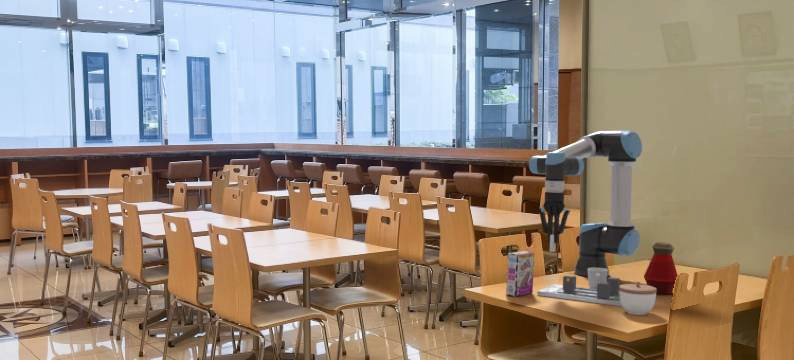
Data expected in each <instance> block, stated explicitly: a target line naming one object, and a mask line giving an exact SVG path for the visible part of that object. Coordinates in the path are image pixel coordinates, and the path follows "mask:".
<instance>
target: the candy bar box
mask: <svg viewBox="0 0 794 360" xmlns="http://www.w3.org/2000/svg"><path fill="white" fill-rule="evenodd" d="M534 267H535V252H531V251H527V250H526V251H525V250H523V251H516V252H515V251H514V252H508V253H507V268H506V269H507V270H506V271H507V272H506V289H505V290H506V291H505V292H506V294H505V295H506V296H508V297H514V298H517V297H522V296H526V295H532V294H533V289H534V269H535V268H534Z"/></svg>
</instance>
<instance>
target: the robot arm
mask: <svg viewBox="0 0 794 360" xmlns="http://www.w3.org/2000/svg"><path fill="white" fill-rule="evenodd" d="M642 151H643V143H642V140H641V137H640V135H639V134H638V133H637V132H636V131H634V130H626V129H625V130H624V129H623V130H605V129H603V130H600V131H596V132H592V133H590V134H588V135H587V134H586V135H584V136H582V137H580V138H579V139H578V140H577V141H576V142H573V143H571V144H569V145H566V146H563V147H561V148H559V149H557V150H553V151H548V152H547V153H546V154H544V155H533V156H531V158H530V159H529V162H528V165H529V171H530V172H531V173H532V174H537V175H545V178H544V190H545V192H544V203H543V204H542V206H541V207H539V208H537V212H538V214H539V216H540V218H539V219H540V222H541V226H542V232H543V233H545V234H547V243H549V252H550V253H551V252H553V253H554V252H556V247H557V246H556V245H557V244H558V243H559V235H561V234H563V233H564V231H565V227H566V224H567V221H568V217H569V215H570V213H571V210H570V209H568V208H566V205H565V192H564V191H565V177H576V176H579V175H581V174H582V173H583V172H584V170H585V163H584V161H583V160H582V159H584V158H585V159H590V158H592V157H594V158H595V157H603V158H607V162H608V164H610V165H611V175H610V176H611V178H610V186H611V187H610V220H609V221H608V222H607V223H606V222H593V223H582V224H581V225H580V227H579V234H578V235H579V240H578V242H579V243H578V251H579V252H578V257H577V260H576V263H575V266H574V268H573V269H574V270H573V271H574V272H573V273H574V274H575V275H578V276H581V277H588V268H604V269H607V270H608V273H607V277H608V276H609V275H610V269H609V266H608V262H607V259H606V257H607V256H606V255H607V254H611V255H612V254H613V255H616V256H617V255H619V256H626V257H628V256H632V255H634V254H635V253H636V251H637V249H638V248H639V244H640V241H641V237H640V233H639V231H638V230H637V229H635V223H634V222H633V221H632V194H633V193H632V192H633V191H632V190H633V189H632V187H633V186H632V184H633V182H632V181H633V166H634V164H635V163H637V159H638V158H640V157H641V155H642ZM545 212H546V213H547V218H546V213H545ZM562 213H563V215H562V217H561V214H562ZM560 217H561V221H560Z"/></svg>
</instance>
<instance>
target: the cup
mask: <svg viewBox="0 0 794 360" xmlns="http://www.w3.org/2000/svg"><path fill="white" fill-rule="evenodd" d="M607 273H608V270H607V269H604V268H588V276H587V280H588V281H587V283H588V287H589V289H597V284H598V283H599V282H607V279H608V276H607Z"/></svg>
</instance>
